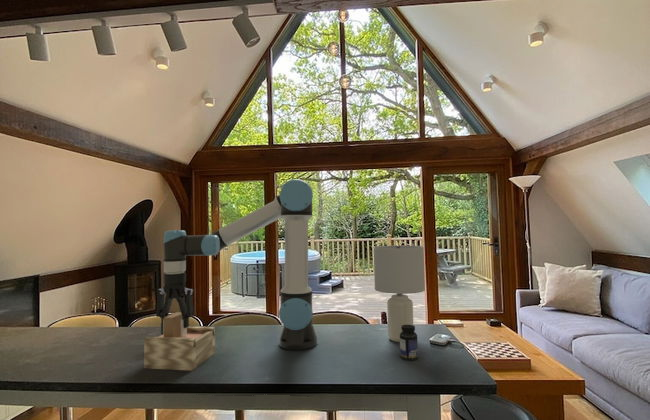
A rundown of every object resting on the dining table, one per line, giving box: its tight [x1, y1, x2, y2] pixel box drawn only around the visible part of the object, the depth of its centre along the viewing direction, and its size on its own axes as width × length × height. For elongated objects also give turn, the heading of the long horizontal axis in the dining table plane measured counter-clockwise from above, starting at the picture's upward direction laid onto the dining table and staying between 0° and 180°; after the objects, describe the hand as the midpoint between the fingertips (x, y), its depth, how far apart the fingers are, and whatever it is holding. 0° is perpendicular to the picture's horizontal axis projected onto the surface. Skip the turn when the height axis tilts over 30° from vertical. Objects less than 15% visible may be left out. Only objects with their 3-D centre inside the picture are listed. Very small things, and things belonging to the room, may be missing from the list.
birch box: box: [143, 325, 216, 371], centre depth 129 cm, size 18×16×10 cm
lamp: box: [373, 244, 426, 343], centre depth 148 cm, size 20×20×39 cm
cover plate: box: [158, 311, 206, 338], centre depth 129 cm, size 16×14×9 cm
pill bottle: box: [399, 324, 419, 361], centre depth 127 cm, size 6×6×11 cm
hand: (175, 336), depth 129 cm, fingers closed on cover plate, 6 cm apart
